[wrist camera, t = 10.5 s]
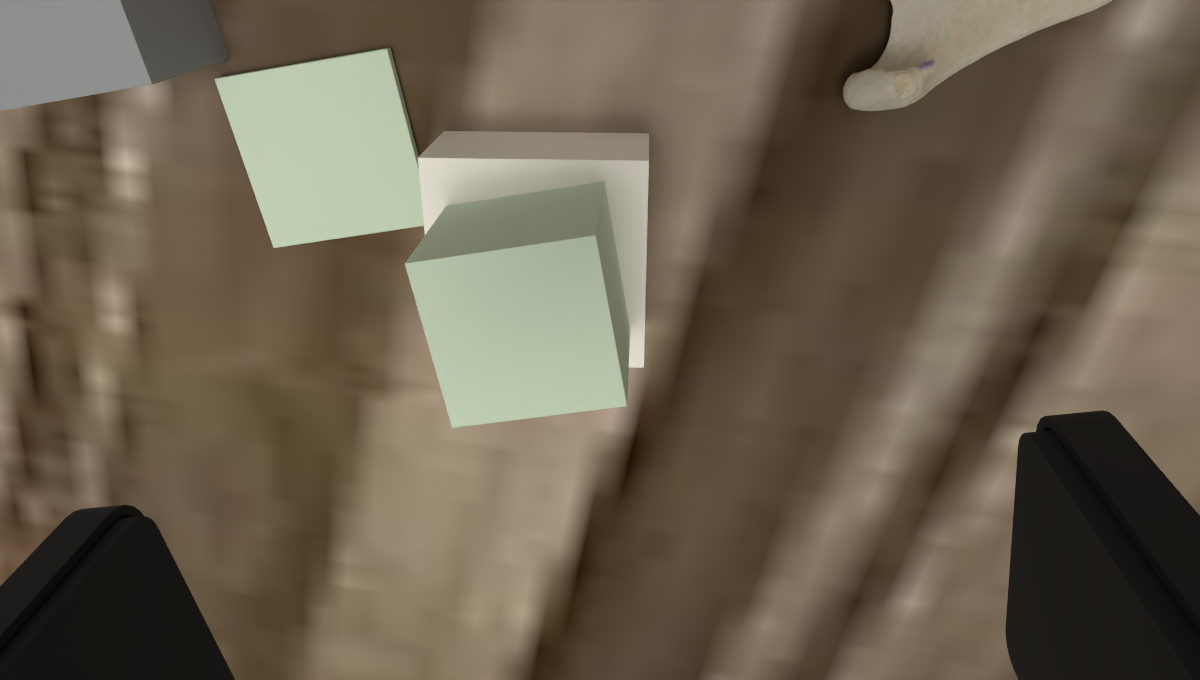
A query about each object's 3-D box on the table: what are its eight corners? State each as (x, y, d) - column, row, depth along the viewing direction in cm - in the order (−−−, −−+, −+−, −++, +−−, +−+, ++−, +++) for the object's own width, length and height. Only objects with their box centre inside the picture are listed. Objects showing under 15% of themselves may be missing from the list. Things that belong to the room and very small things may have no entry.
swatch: (220, 77, 29) (214, 79, 28) (390, 47, 28) (387, 49, 28) (277, 243, 31) (273, 247, 31) (435, 220, 31) (432, 224, 30)
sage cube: (445, 205, 27) (404, 263, 22) (604, 181, 26) (595, 235, 21) (482, 348, 29) (452, 427, 24) (630, 328, 28) (626, 406, 24)
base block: (445, 129, 29) (417, 157, 26) (648, 131, 29) (648, 160, 26) (460, 314, 33) (436, 362, 29) (644, 317, 32) (643, 367, 29)
